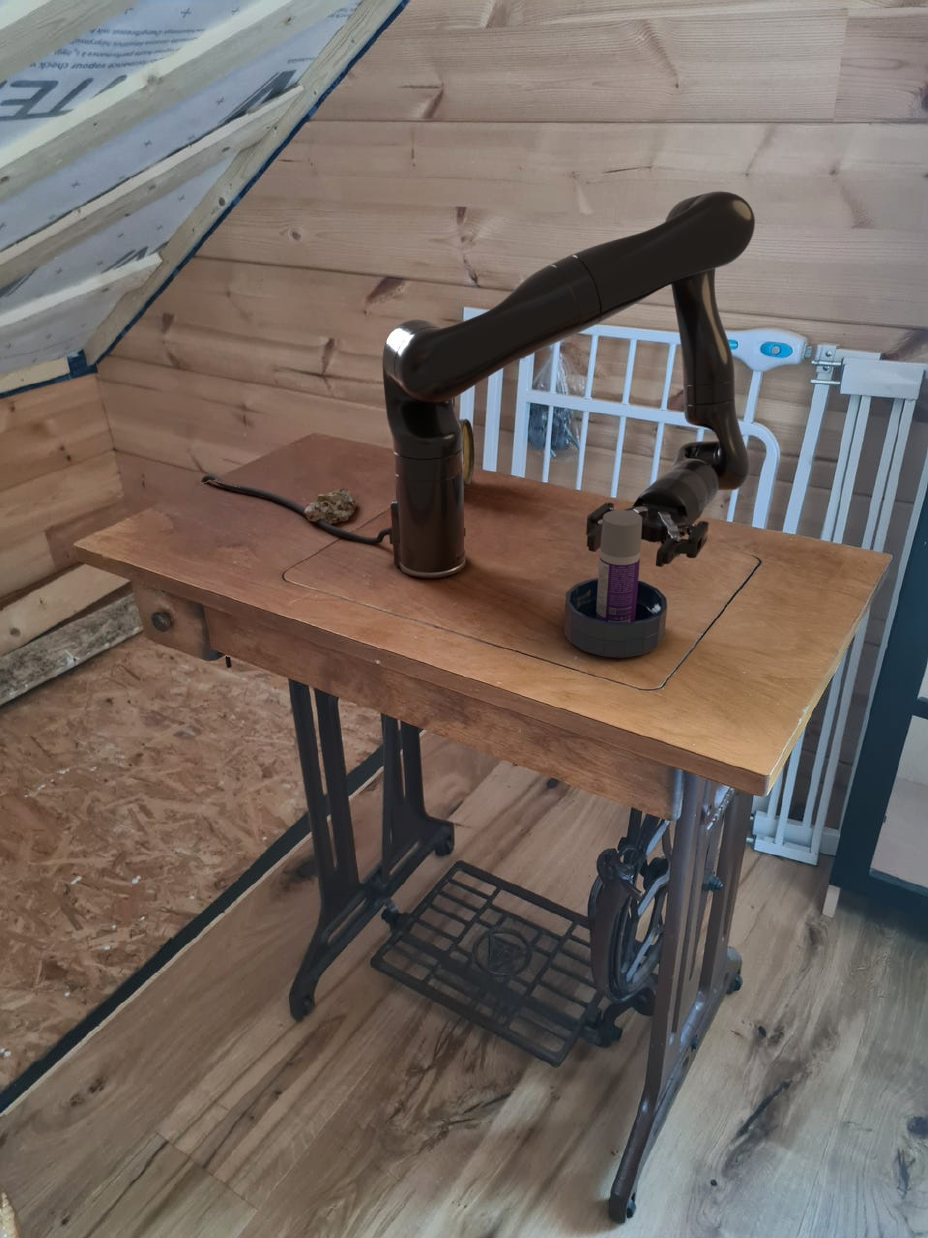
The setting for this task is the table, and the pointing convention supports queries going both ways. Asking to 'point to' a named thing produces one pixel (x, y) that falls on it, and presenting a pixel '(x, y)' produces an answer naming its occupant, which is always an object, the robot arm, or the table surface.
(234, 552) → the table surface
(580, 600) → the bowl
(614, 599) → the container
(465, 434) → the alarm clock
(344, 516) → the mineral rock
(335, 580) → the table surface
